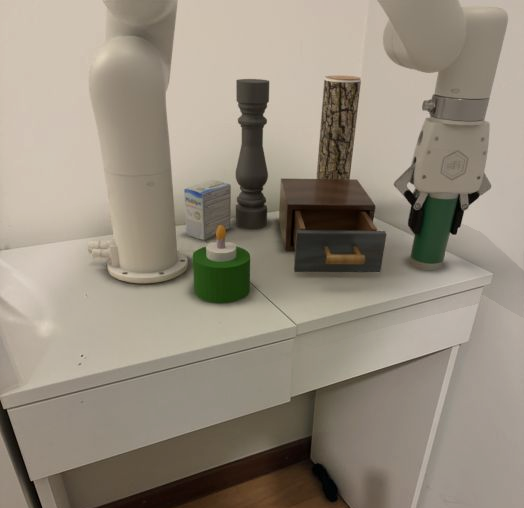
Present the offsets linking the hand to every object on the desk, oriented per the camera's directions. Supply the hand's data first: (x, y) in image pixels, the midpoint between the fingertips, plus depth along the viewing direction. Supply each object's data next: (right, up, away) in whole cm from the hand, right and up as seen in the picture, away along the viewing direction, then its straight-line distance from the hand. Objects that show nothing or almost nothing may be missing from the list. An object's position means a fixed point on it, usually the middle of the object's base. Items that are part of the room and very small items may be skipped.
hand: (432, 230), depth 84 cm
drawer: (-16, -5, +1) cm, 17 cm away
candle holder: (-30, +5, +18) cm, 35 cm away
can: (0, -5, +3) cm, 6 cm away
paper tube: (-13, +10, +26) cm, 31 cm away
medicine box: (-38, +3, +13) cm, 40 cm away
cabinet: (-17, +2, +13) cm, 21 cm away
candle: (-34, -11, -7) cm, 36 cm away
